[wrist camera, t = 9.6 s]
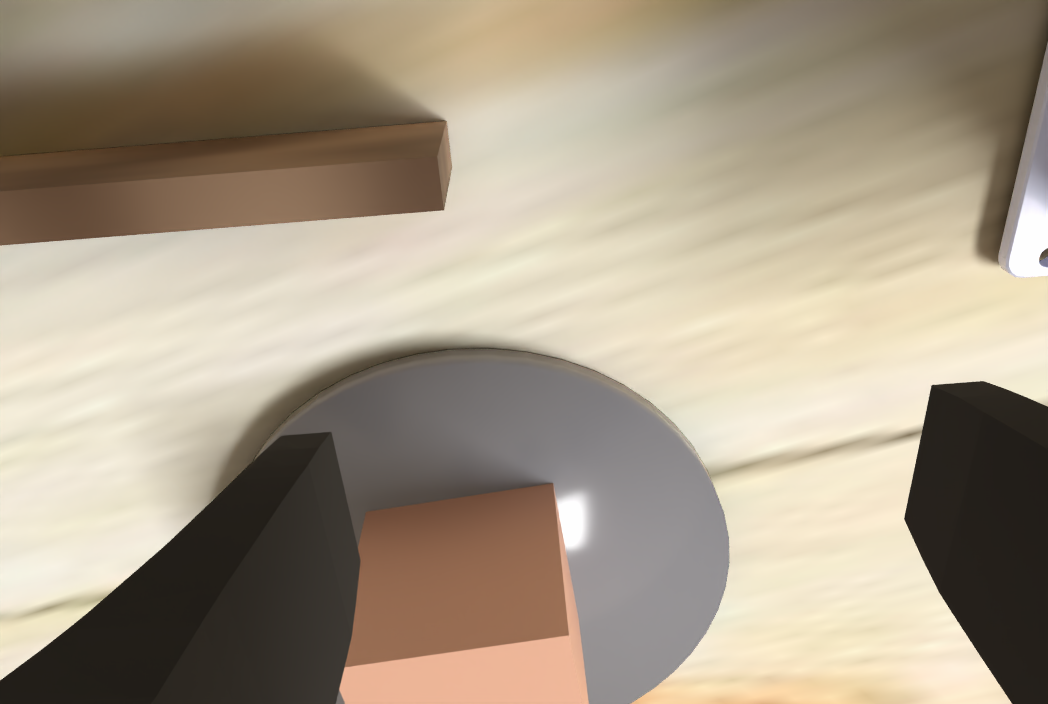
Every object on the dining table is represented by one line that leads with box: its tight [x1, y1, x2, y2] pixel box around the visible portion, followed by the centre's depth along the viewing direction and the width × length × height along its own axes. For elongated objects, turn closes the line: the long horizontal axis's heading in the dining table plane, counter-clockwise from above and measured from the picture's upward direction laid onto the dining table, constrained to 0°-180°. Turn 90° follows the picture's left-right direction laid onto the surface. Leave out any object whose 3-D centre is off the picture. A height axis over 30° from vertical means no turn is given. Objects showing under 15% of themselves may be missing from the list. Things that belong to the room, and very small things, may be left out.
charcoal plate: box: [253, 348, 729, 704], centre depth 22 cm, size 14×14×1 cm
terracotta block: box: [339, 483, 589, 704], centre depth 19 cm, size 5×5×5 cm
